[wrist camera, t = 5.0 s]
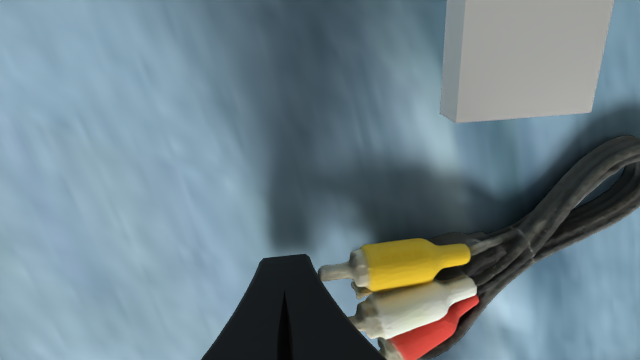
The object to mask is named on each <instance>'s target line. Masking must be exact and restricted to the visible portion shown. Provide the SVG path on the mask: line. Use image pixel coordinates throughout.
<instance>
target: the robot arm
mask: <svg viewBox="0 0 640 360" xmlns="http://www.w3.org/2000/svg"><path fill="white" fill-rule="evenodd" d="M201 360H387V359H386V358H385V357H384V356H383V355H382V354H381V353H380V352H379V351H378V350H377V349H376V348H375V347H374V346H373V345H372V344H371V343H370V342H369V341H368V340H367V339H366V338H365V337H364V336H363V335H362V334H361V333H360V332H359V330H358V329H357V328H356V327H355V326H354V325H353V323H352V322H351V321H350V320H349V319H348V317H347V316H346V315H345V314H344V313H343V311H342V310H341V309H340V307H339V306H338V305H337V303H336V302H335V301H334V299H333V298H332V296H331V295H330V294H329V292H328V291H327V289H326V288H325V286H324V285H323V283H322V281H321V280H320V278H319V276H318V275H317V273H316V271H315V269H314V267H313V265H312V262H311V260H310V257H309V256H307V255H306V254H300V255H290V256H280V257H270V258H263V259H262V260H261V262H260V263H259V265H258V268H257V270H256V273H255V275H254V277H253V279H252V281H251V283H250V285H249V287H248V289H247V291H246V293H245V294H244V296H243V298H242V299H241V301H240V303H239V305H238V306H237V308H236V310H235V312H234V313H233V315H232V316H231V318H230V319H229V321H228V322H227V324H226V325H225V327H224V328H223V330H222V331H221V333H220V334H219V336H218V337H217V339H216V340H215V342H214V343H213V344H212V346H211V347H210V348H209V350H208V351H207V353H206V354H205V355H204V356H203V358H202V359H201Z"/></svg>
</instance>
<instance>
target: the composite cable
mask: <svg viewBox="0 0 640 360" xmlns="http://www.w3.org/2000/svg"><path fill="white" fill-rule="evenodd" d="M624 166H625V169H624V172H623V174H622V176H621V177H620V178H619V179H618V180H617V182H616V183H615V184H614V185H613V186H612V187H611V188H610V189H609V190H607V191H606V192H604V193H603V194H602V195H600V196H599V197H597V198H595V199H594V200H592V201H591V202H589V203H587V204H584V205H583V206H581V207H579V208H576V209H574V210H572V209H573V208H574V207H575V206H577V205H578V204H579V203H580V202H581V201H582V200H583V199H584V198H585V197H586V196H587V195H588V194H589V193H590V192H592V191H593V190H594V189H595V188H596V187H598V186H599V185H600V184H601V183H602V182H603V181H604V180H605V179H607V178H608V177H609V176H611V175H613V174H615V173H616V172H617V171H618V170H620V169H621V168H622V167H624ZM639 206H640V138H638V137H635V136H631V135H625V136H621V137H617V138H614V139H611V140H609V141H607V142H605V143H603V144H601V145H600V146H598V147H597V148H595V149H594V150H592V151H591V152H589V153H588V154H587V155H586V156H584V157H583V158H581V159H580V160H579V161H578V162H577V163H576V164H575V165H574V166H573V167H572V168H571V169H570V170H569V171H568V172H567V173H566V174H565V175H564V176H563V177H562V178H561V179H560V180H559V182H558V183H557V184H556V185H555V186H554V187H553V188H552V189H551V190H550V192H549V193H548V194H547V195H546V197H545V198H544V199H543V200H542V201H541V202H540V203H539V204H538V205H537V206H536V207H535V209H534V210H533V211H531V212H530V213H529V214H527V215H526V216H524V217H523V218H522V219H520V220H519V221H518V222H516V223H514V224H513V225H510V226H508V227H506V228H503V229H501V230H498V231H495V232H492V233H489V234H486V233H485V232H483V231H479V232H475V233H472V234H462V233H458V232H452V233H447V234H443V235H441V236H438V237H435V238H432V239H429V240H425V239H422V238H415V239H406V240H398V241H391V242H383V243H376V244H366V245H363V246H362V247H361V248H360V249H359V250H355V251H352V252H351V254H350V260H349V261H348V262H346V263H342V264H336V265H324V266H322V267H320V268H319V270H318V276H319V278H320V280H321V281H330V280H337V279H347V278H350V279H352V280H354V281H353V282H352V283H351V286H352V288H353V289H354V290H355V292H356V298H357V299H361V298H363V297H364V296H367V295H369V296H368V297H367V299H366V300H365V301H363V302H361V303H359V304H358V305H357V311H356V315H355V316H351V317H348V319H349V320H350V321H351V322H352V323H353V325H354V326H355V327H356V328H357V329H358V330H359V331H364V332H365V333H366V334H367V336H368V337H369V338H371V339H374V338H377V337H378V345H379V347H380V348H381V349H380V350H379V352H380V353H381V354H382V355H383V356H384V357H385V358H386V359H387V360H426V359H431V358H434V357H436V356H439V355H440V354H442V353H443V352H445V351H448V350H449V349H450V348H451V347H452V346H453V345H455V344H456V343H457V342H458V341H459V340H460V339H461V338H462V337H463V336H464V335H465V333H466V332H467V331H468V330H469V329H470V327H471V326H472V325H473V323H474V322H475V321H476V319H477V318H478V317H479V316H480V314H481V313H482V312H483V310H484V309H485V308H486V306H487V305H488V304H489V303H490V302H491V301H492V299H493V298H494V297H495V296H496V295H497V294H498V293H499V292H500V291H501V290H502V289H503V288H505V287H506V286H507V285H508V284H509V283H510V282H511V281H512V280H514V279H515V278H516V277H517V276H518V275H520V274H521V273H522V272H524V271H525V270H526V269H528V268H529V267H530V266H532V265H533V264H534V263H536V262H538V261H540V260H542V259H543V258H546V257H548V256H550V255H551V254H554V253H556V252H558V251H559V250H562V249H564V248H566V247H568V246H570V245H572V244H574V243H576V242H579V241H581V240H583V239H585V238H587V237H589V236H591V235H593V234H595V233H597V232H600V231H601V230H603V229H606V228H608V227H610V226H612V225H613V224H615V223H617V222H618V221H620V220H621V219H623V218H625V217H626V216H628V215H629V214H631V213H632V212H633V211H634V210H636V209H637V208H638V207H639ZM571 210H572V211H571Z"/></svg>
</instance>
